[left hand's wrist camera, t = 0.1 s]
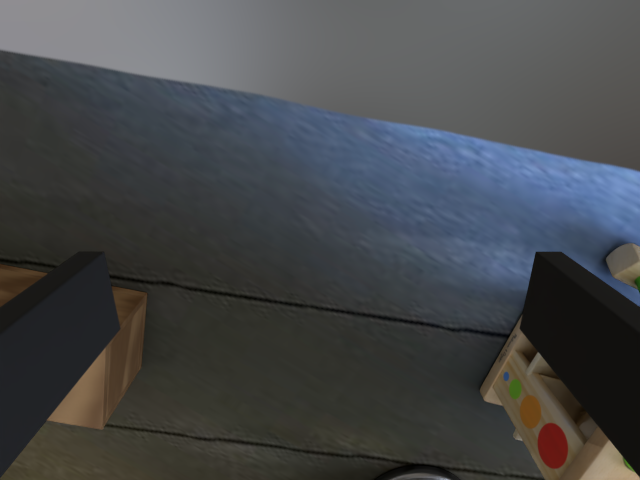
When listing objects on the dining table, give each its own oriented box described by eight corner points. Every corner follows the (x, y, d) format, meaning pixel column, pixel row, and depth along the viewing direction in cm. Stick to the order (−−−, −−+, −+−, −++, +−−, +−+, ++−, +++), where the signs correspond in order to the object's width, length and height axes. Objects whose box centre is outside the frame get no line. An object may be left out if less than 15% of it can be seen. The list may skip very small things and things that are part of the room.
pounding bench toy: (572, 222, 41) (745, 318, 24) (692, 259, 43) (932, 373, 26) (476, 392, 49) (557, 552, 32) (580, 418, 51) (708, 583, 34)
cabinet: (-45, 333, 46) (-128, 391, 38) (-55, 253, 42) (-150, 296, 34) (141, 367, 48) (102, 429, 39) (147, 292, 44) (105, 343, 36)
